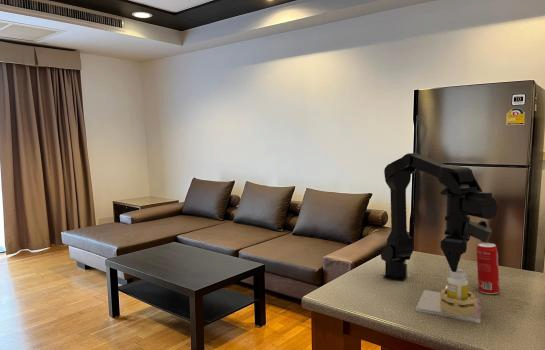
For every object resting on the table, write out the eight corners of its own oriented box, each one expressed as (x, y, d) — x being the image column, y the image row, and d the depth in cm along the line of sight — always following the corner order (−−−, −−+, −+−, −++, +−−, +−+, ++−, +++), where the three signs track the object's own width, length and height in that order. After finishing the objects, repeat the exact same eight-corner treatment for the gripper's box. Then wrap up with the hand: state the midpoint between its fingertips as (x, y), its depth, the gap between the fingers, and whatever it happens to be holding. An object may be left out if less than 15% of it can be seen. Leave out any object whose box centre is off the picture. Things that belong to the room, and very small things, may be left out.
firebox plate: (415, 310, 109) (416, 296, 109) (424, 292, 121) (424, 279, 121) (480, 323, 101) (480, 307, 101) (482, 302, 113) (482, 288, 113)
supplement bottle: (466, 301, 112) (467, 268, 111) (469, 309, 107) (470, 275, 106) (445, 299, 114) (446, 267, 113) (447, 307, 109) (448, 273, 108)
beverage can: (502, 295, 118) (503, 247, 116) (478, 294, 119) (479, 246, 118) (495, 288, 123) (497, 242, 122) (473, 286, 125) (474, 241, 124)
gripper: (489, 222, 97) (487, 282, 98) (490, 208, 113) (489, 261, 114) (440, 218, 102) (439, 275, 104) (448, 205, 118) (447, 255, 120)
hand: (455, 266), depth 110 cm, fingers open, 9 cm apart
